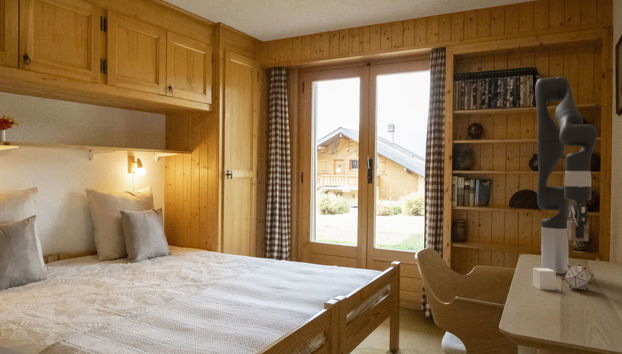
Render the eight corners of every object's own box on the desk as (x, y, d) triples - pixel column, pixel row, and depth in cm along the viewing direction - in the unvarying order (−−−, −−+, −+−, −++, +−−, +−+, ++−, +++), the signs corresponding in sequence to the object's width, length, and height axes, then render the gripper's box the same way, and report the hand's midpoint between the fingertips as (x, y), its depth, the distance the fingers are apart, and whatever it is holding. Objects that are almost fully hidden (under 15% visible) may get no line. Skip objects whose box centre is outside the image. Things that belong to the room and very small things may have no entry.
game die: (584, 302, 140) (602, 281, 134) (557, 291, 142) (574, 270, 136) (580, 283, 147) (597, 263, 142) (555, 273, 149) (570, 252, 143)
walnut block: (566, 238, 145) (566, 220, 145) (584, 239, 143) (584, 221, 143) (570, 240, 140) (570, 221, 140) (588, 241, 139) (588, 222, 139)
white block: (532, 285, 146) (532, 267, 146) (548, 286, 146) (548, 268, 146) (539, 289, 141) (539, 271, 141) (555, 289, 141) (555, 271, 141)
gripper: (559, 185, 150) (559, 234, 150) (570, 185, 136) (569, 239, 136) (584, 185, 148) (584, 235, 147) (597, 185, 134) (597, 240, 134)
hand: (577, 236), depth 142 cm, fingers closed on walnut block, 5 cm apart
